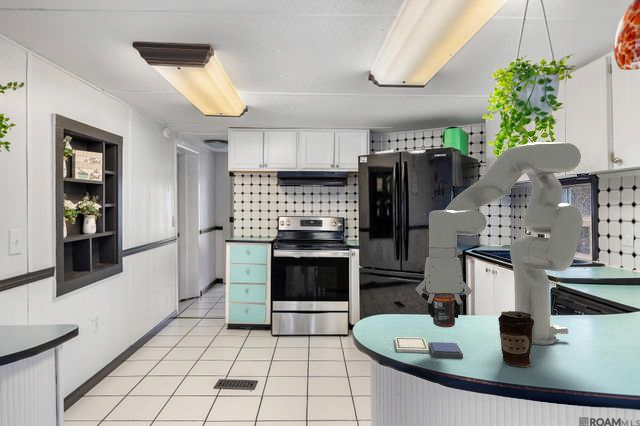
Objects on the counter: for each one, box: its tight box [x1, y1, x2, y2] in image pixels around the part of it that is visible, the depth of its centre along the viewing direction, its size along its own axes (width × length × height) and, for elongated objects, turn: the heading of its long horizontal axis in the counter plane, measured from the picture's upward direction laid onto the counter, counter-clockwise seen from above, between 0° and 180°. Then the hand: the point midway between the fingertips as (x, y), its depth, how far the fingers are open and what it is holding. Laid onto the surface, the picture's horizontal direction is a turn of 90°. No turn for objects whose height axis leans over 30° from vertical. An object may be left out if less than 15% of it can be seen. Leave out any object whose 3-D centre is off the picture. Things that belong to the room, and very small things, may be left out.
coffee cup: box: [497, 310, 534, 368], centre depth 95 cm, size 9×8×13 cm
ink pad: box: [427, 341, 464, 359], centre depth 104 cm, size 8×8×2 cm
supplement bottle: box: [432, 293, 456, 328], centre depth 104 cm, size 6×6×11 cm
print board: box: [394, 336, 430, 354], centre depth 109 cm, size 9×10×1 cm
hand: (443, 315), depth 104 cm, fingers closed on supplement bottle, 6 cm apart
